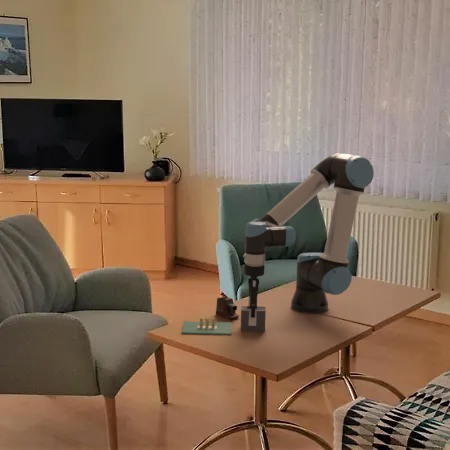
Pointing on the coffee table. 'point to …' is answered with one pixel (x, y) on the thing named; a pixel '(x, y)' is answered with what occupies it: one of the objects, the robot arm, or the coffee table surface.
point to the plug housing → (259, 319)
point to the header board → (207, 327)
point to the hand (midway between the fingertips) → (251, 319)
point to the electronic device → (226, 308)
